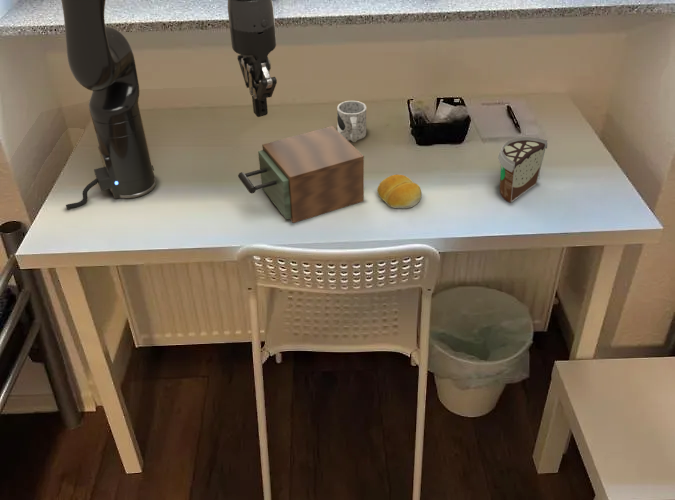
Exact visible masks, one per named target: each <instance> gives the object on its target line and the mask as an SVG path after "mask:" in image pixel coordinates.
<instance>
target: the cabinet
mask: <svg viewBox="0 0 675 500" xmlns="http://www.w3.org/2000/svg"><path fill="white" fill-rule="evenodd" d="M261 145H262V146H261V147H262V150H264V151H265V152H266V153H267V155H268V156H269V157H270V158H271V159H272V160H273V161H274V162H275V163H276V165H277V166H278V167H279V168H280V169H281V171H282V172H283V173H284V174H285V175H286V177H287V178H288V180H289V192H290V205H291V218H289V220H290V221H291V222H292V224H296V223H298V222H301V221H305V220H307V219H311V218H314V217H318V216H320V215H323V214H324V215H325V214H327V213H330V212H333V211H336V210H340V209H343V208H346V207H350V206H353V205H356V204H359V203H362V202H364V198H365V197H364V195H365V194H364V190H365V187H364V182H365V178H364V177H365V171H364V170H365V169H364V167H365V163H364V162H365V161H364V159H365V158H364V157H365V156H364V155H363V154H362V153H361V152H360V151H359V150H358V149H357V148H356V147H355V146H354V145H353V144H352V143H351V142H350V141H349V140H346V139H345V138H344V137H343V136H342V135H341V134H340V133H339V132H338V129H337V128H336V127H334V126H333V125H330V126H327V127H323V128H318V129H315V130H312V131H307V132H304V133H300V134H296V135H293V136H288V137H284V138H281V139H278V140H273V141H270V142H266V143H263V144H261Z"/></svg>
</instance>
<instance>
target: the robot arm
mask: <svg viewBox="0 0 675 500" xmlns="http://www.w3.org/2000/svg"><path fill="white" fill-rule="evenodd" d="M60 1H61V6H62V14H63V21H64V34H65V46H66V58H67V63H68V67H69V70H70V72H71V74H72V76H73V77H74V79H75V80H76V81H77V83H79V84H80V85H81V86H82V87H83V88H85V89H86V90H89V91H92V92H91V96H90V98H89V101H88V110H89V113H90V118H91V121H92V125H93V129H94V132H95V137H96V141H97V144H98V147H97V148H98V152H99V155H100V159H101V163H102V167H98V168H94V169H93V171H94V176H95V179H94V180H92V181H91V182H90V183H87V185H86V186H85V187H84V188H83V190H82V199H81V200H80V201H78V202H73V203H72V202H71V203H67V204H65V207H66V209H67V210H70V209H75V208H79V207H82V206H84V205H85V204H86V203H87V201H88V192H89V190H90V189H92V188H93V187H95V186H96V185H98V186H99V188H100V190H101V191H105V190H110V193H111V194H112V196H113V198H114V199H115V200H117V199H134V198H139V197H142V196H145V195H147V194H149V193H150V192H152V191H153V190H154V189H155V188H156V186H157V180H156V176H155V172H154V171H155V169H154V165H153V164H152V160H151V155H150V150H149V146H148V141H147V136H146V133H145V128H144V123H143V119H142V113H141V110H140V105H139V100H140V99H139V98H140V84H139V77H138V71H137V65H136V61H135V55H134V52H133V49H132V47H131V44H130V42H129V41H128V39H127V38H126V36H125V35H124V34H123V33H122V32H121V31H119V30H118V29H117V28H114V27H112V26H108V25H106V20H105V8H106V1H107V0H60ZM227 15H228V23H229V32H230V40H231V48H232V50H233V51H234V53H236V54H237V62H238V64H239V67H240V71H241V74H242V77H243V81H244V84H245V87H246V89H249V90H248V91H249V94H250V96H251V100H252V112H253V113H254V114H255V116H256V117H257V118H261V117H265V116H267V115H268V113H269V110H268V100H267V99H268V98H272V97H273V94H274V92H275V89H276V86H277V84H278V80H277V78H276V76H271V75H270V73H271V72H270V71H271V68H272V66H271V65H272V64H271V61H270V59H269V57H268V56H269V55H270V53H271V52H273V51H274V50H275V49H276V47H277V36H276V22H275V21H276V20H275V11H274V2H273V0H227Z"/></svg>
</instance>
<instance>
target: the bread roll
mask: <svg viewBox="0 0 675 500" xmlns="http://www.w3.org/2000/svg"><path fill="white" fill-rule="evenodd" d="M421 189H422V188H421V187H420V185H419V184H418V183H415V182H414V181H412V179H411V178H409V177H407V176H406V175H403V174H392V175H389V176H387V177H386V178H385V179H382V180H381V181H380V183H379V184H378V186H377V190H376V191H377V194H378V196H379V198H380V199H381V200H382V201H383V202H385V203H386V205H388V206H389V207H391V208H393V209H394V208H395V209H409V208H413V207H414V206H416V205H417V204H419V202H420V201H421V198H422V190H421Z"/></svg>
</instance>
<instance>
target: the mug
mask: <svg viewBox="0 0 675 500" xmlns="http://www.w3.org/2000/svg"><path fill="white" fill-rule="evenodd" d="M336 119H337V121H336V123H337V131H338V132H339V133H340V134H341V135H342V136H343V137H344V138H345V139H346V140H347V141H351V142H352V143H356V142H357V141H359V140H362V139H364V138H366V135H367V104H365V103H364V102H362V101H358V100H345V101H342V102H340V103H339V104H337V106H336Z"/></svg>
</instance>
